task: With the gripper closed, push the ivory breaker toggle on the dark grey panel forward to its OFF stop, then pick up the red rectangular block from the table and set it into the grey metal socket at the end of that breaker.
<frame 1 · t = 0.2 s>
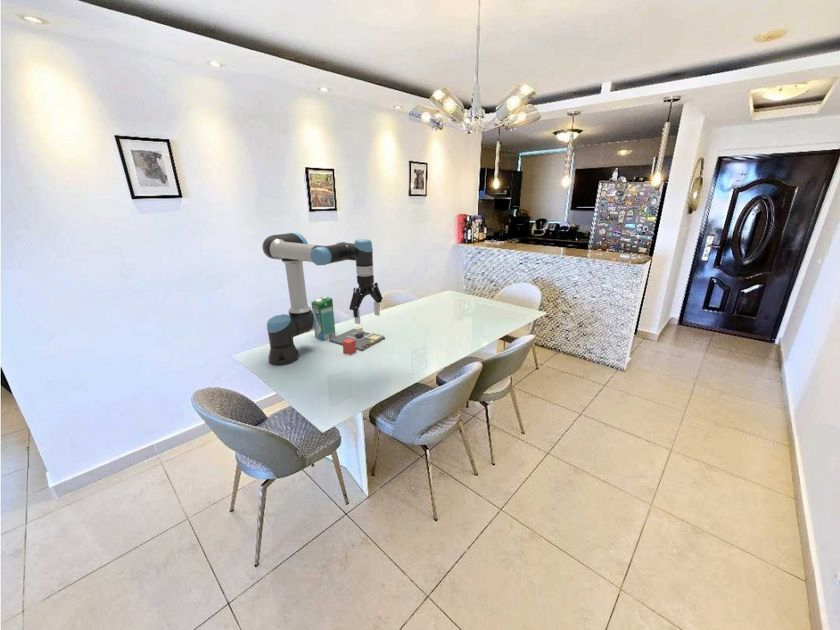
hand: (367, 319, 159), 28 cm above the table, fingers open, 13 cm apart
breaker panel: (357, 340, 206), on the table
tagged toggle: (358, 330, 212), point 3 cm above the table, slide at 0.0 cm
red rectangular block: (349, 352, 190), on the table
milk carton: (325, 337, 211), on the table
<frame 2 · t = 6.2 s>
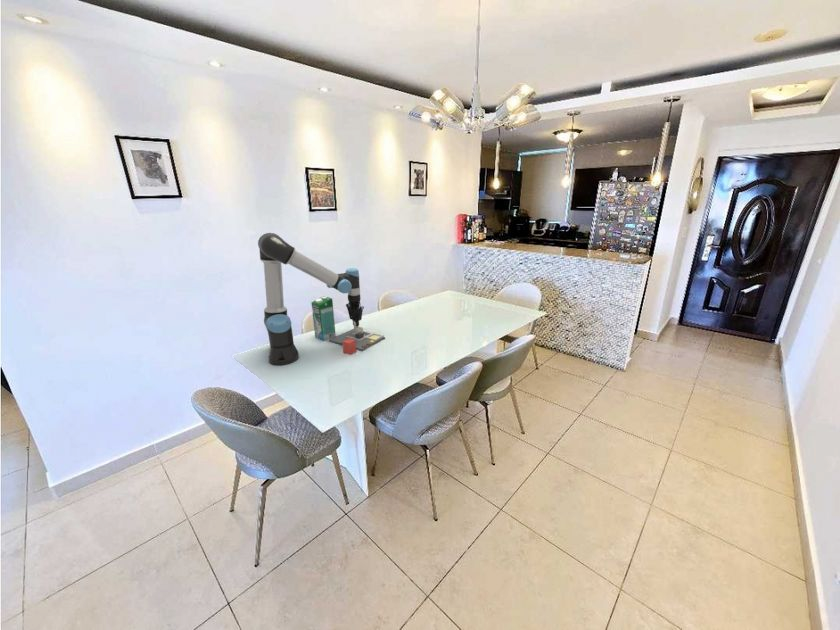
hand: (356, 330, 213), 3 cm above the table, fingers closed
tagged toggle: (359, 330, 212), point 3 cm above the table, slide at 0.2 cm, touching gripper
everything else where it was.
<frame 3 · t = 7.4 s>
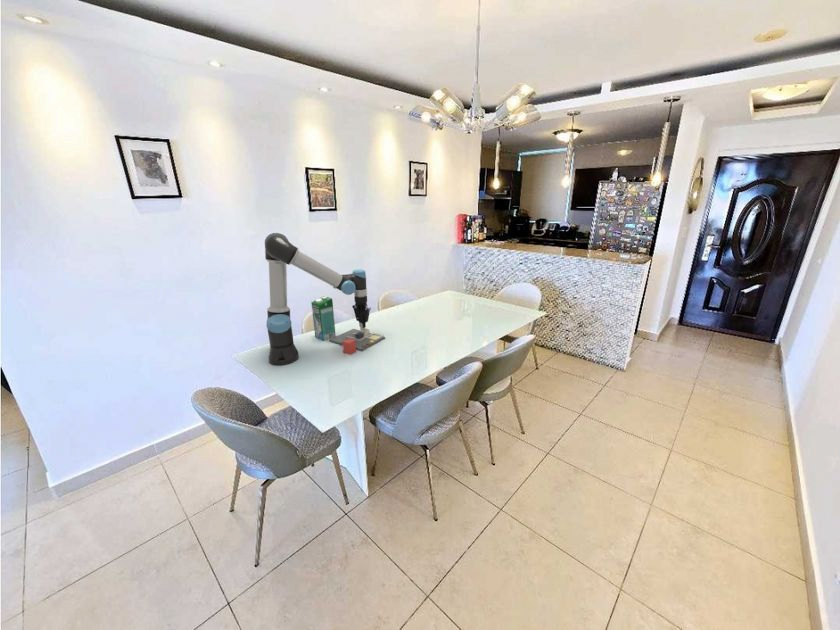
hand: (362, 332, 210), 3 cm above the table, fingers closed
tagged toggle: (365, 332, 209), point 3 cm above the table, slide at 5.6 cm, touching gripper
everything else where it was.
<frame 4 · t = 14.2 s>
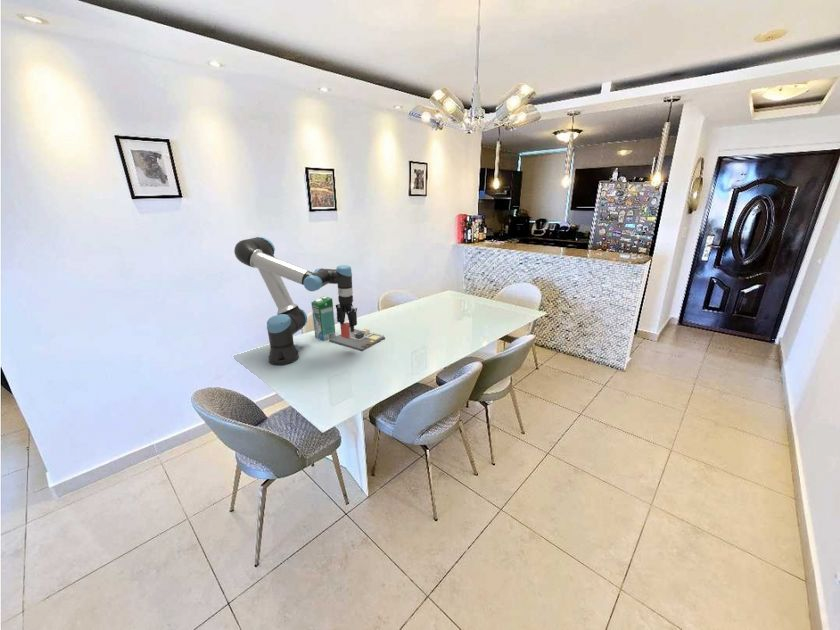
hand: (347, 335, 187), 10 cm above the table, fingers closed on red rectangular block, 5 cm apart
tagged toggle: (365, 332, 209), point 3 cm above the table, slide at 5.7 cm
red rectangular block: (347, 336, 187), point 10 cm above the table, touching gripper
everything else where it was.
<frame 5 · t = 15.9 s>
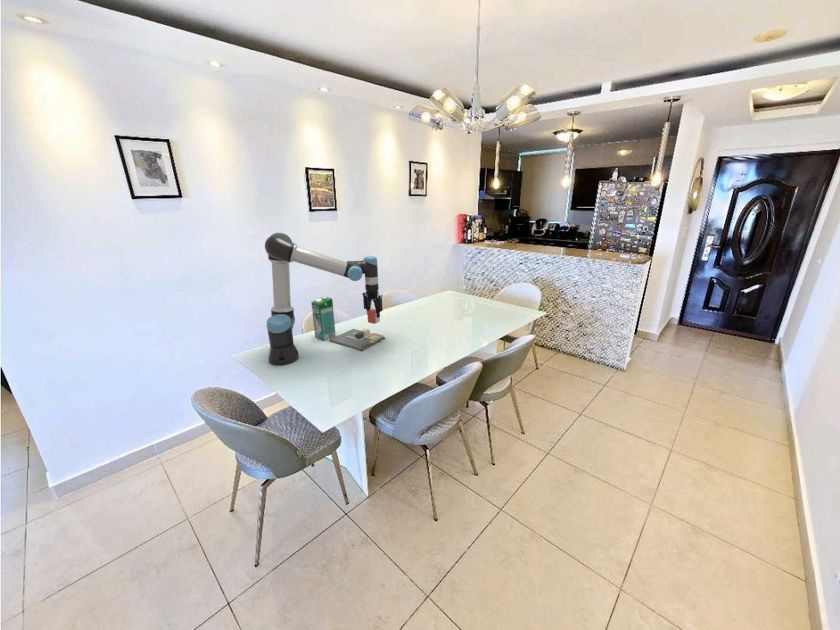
hand: (373, 321, 203), 12 cm above the table, fingers closed on red rectangular block, 5 cm apart
red rectangular block: (373, 321, 203), point 12 cm above the table, touching gripper
everything else where it was.
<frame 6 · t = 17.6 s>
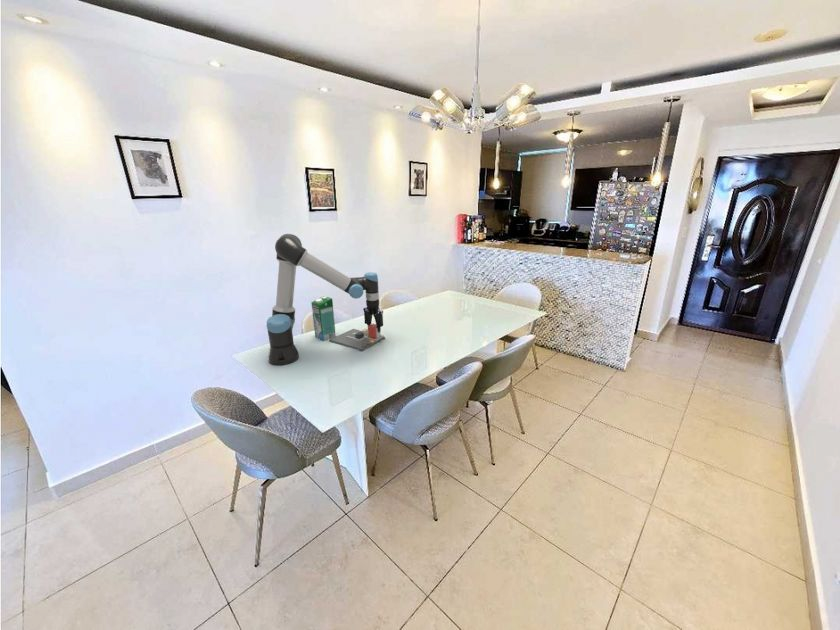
hand: (374, 335, 206), 2 cm above the table, fingers closed on red rectangular block, 5 cm apart
red rectangular block: (374, 336, 206), point 2 cm above the table, touching gripper
everything else where it was.
when the fingers open (2 cm above the table, at t = 18.2 s): red rectangular block stays where it is, resting on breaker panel.
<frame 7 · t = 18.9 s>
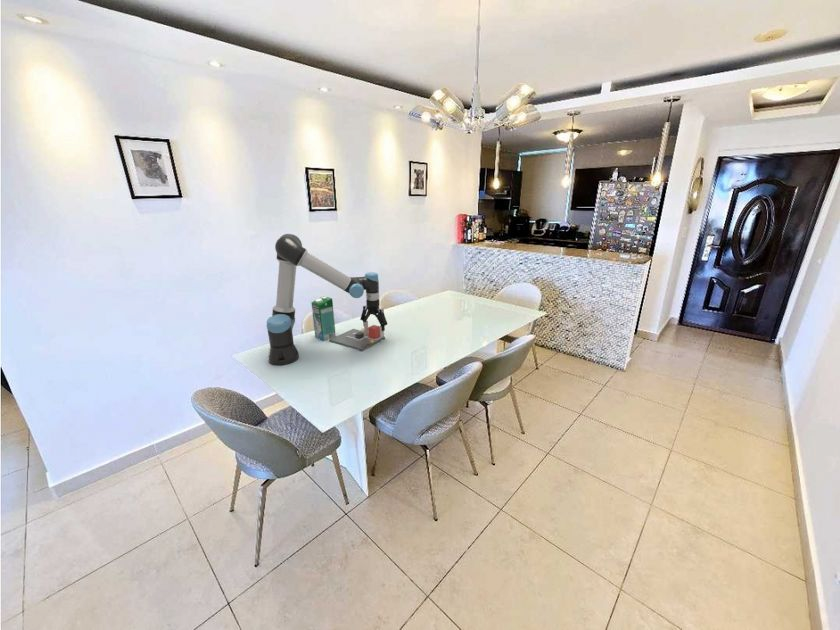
hand: (374, 333, 205), 4 cm above the table, fingers open, 12 cm apart
tagged toggle: (364, 331, 209), point 3 cm above the table, slide at 4.5 cm
red rectangular block: (374, 337, 206), point 1 cm above the table, touching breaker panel
everything else where it was.
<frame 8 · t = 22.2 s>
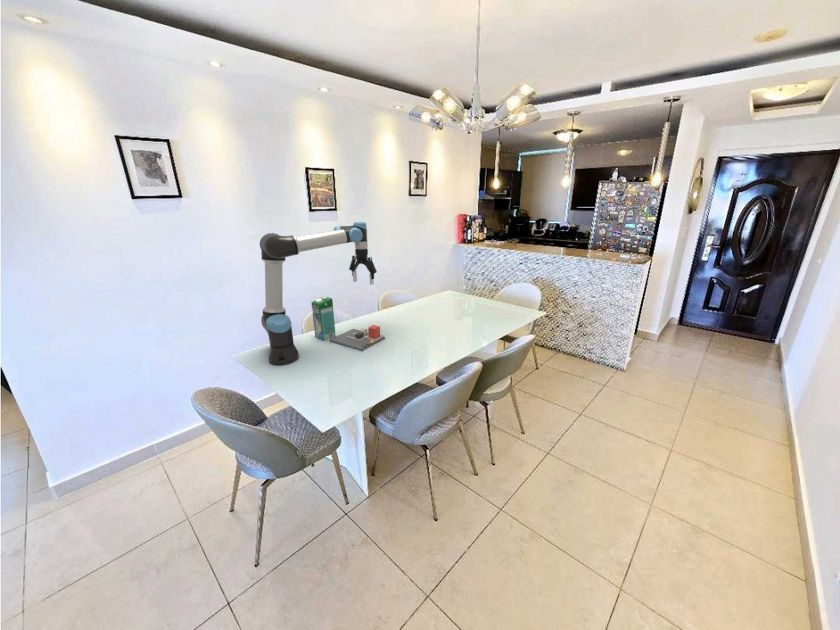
hand: (363, 282, 211), 32 cm above the table, fingers open, 13 cm apart
tagged toggle: (363, 331, 210), point 3 cm above the table, slide at 3.7 cm
everything else where it was.
at the end: tagged toggle slide at 3.7 cm; red rectangular block inside the target area (0.1 cm from its centre), point 1.3 cm above the table; red rectangular block tilted 0° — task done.
